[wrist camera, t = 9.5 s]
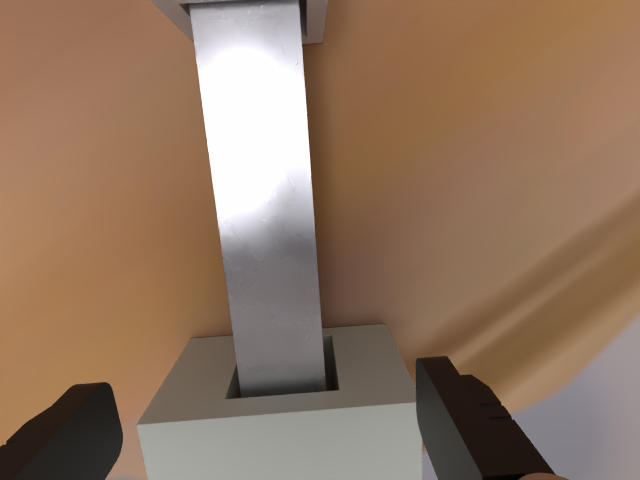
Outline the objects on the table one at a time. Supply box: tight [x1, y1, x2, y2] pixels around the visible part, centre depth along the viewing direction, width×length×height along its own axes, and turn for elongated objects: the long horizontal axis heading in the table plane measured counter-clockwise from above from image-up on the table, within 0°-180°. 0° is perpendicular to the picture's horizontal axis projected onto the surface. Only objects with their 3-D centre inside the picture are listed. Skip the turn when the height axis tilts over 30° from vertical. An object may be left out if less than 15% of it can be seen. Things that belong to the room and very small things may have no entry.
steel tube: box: [189, 0, 327, 398], centre depth 17 cm, size 4×26×4 cm, turn 4°
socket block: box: [137, 324, 422, 480], centre depth 19 cm, size 12×6×7 cm, turn 94°
